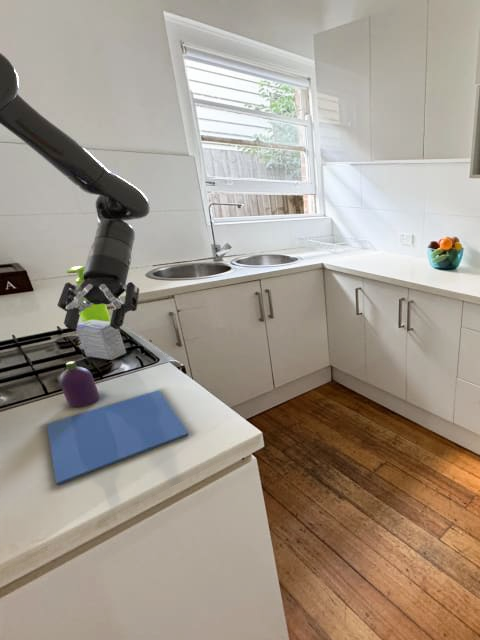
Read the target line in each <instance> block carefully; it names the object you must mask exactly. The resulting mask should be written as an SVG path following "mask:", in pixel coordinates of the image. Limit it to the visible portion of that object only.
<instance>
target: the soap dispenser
mask: <svg viewBox="0 0 480 640" xmlns="http://www.w3.org/2000/svg"><path fill="white" fill-rule="evenodd" d="M85 266H86V265H78V266H73V267H70V268H69V269H68V270H66V273H67V274H77V279H75V285H81V284H82V283H83V281H84V276H83V273H84V269H85ZM80 292H81V291H80ZM80 292H79V293H80ZM83 301H84V302H85V301H87V300H86V298H83ZM79 305H80V304H79ZM79 305H78V306H79ZM79 314H80V317H81V321H82V323H83V322H86V321H89V320H99V321H107V322H110V321H111V316H110V313H109V310H108V307H107V304H93V305H91V306H90V307H89V308H85V309H84V310H83V311H82V312H80V313H79Z"/></svg>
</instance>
